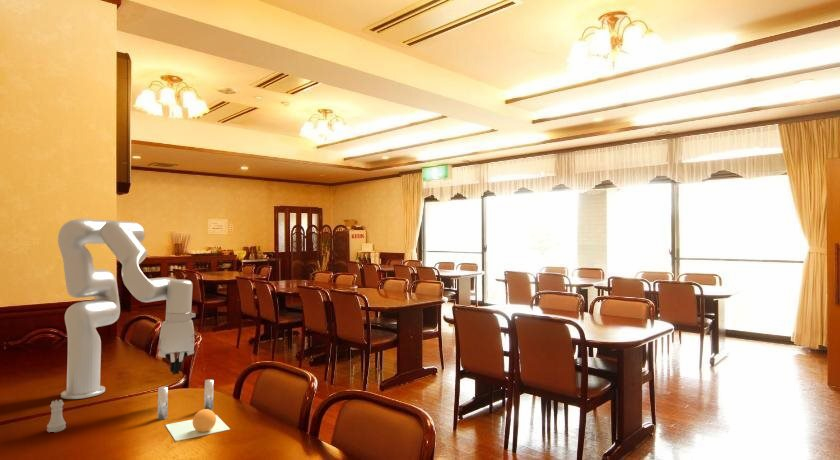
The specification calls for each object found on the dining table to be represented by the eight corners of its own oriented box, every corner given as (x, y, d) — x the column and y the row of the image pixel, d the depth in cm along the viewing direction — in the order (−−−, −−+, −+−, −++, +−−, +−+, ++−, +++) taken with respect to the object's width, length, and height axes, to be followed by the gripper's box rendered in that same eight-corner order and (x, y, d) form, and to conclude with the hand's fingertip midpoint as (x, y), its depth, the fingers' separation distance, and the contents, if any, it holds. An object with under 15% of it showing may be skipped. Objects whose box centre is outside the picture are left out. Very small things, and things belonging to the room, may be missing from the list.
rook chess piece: (55, 433, 135) (56, 404, 135) (42, 432, 136) (42, 403, 136) (70, 427, 140) (70, 399, 140) (57, 426, 140) (57, 398, 141)
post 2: (203, 409, 156) (203, 380, 156) (211, 407, 157) (212, 378, 158) (205, 411, 154) (205, 382, 154) (214, 409, 155) (214, 380, 155)
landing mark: (165, 425, 142) (165, 424, 142) (216, 415, 150) (216, 414, 150) (175, 441, 131) (175, 440, 131) (230, 429, 139) (230, 428, 139)
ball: (195, 438, 134) (189, 429, 138) (218, 432, 137) (212, 424, 142) (196, 416, 133) (190, 408, 138) (219, 411, 137) (212, 403, 142)
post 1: (156, 417, 148) (157, 387, 148) (166, 415, 149) (167, 385, 150) (158, 420, 146) (159, 389, 146) (168, 418, 147) (168, 388, 148)
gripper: (199, 314, 170) (196, 367, 170) (150, 317, 161) (147, 373, 161) (205, 317, 164) (202, 373, 164) (154, 320, 155) (151, 379, 155)
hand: (175, 373), depth 162 cm, fingers closed
